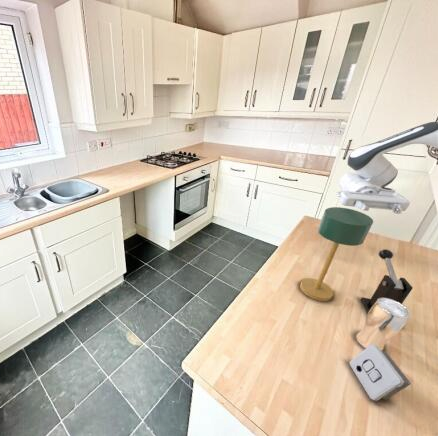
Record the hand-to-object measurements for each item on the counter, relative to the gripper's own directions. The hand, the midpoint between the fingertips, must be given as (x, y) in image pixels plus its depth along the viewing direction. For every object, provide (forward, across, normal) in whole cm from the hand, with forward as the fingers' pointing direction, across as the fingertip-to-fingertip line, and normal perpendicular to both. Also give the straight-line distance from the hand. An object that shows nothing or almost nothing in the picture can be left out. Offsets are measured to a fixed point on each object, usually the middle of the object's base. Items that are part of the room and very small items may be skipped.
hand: (382, 210), depth 85 cm
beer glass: (+36, -9, +27) cm, 45 cm away
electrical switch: (+48, -14, +27) cm, 57 cm away
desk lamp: (+17, -17, +27) cm, 36 cm away
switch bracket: (+22, 0, +27) cm, 35 cm away
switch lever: (+16, 0, +14) cm, 21 cm away
